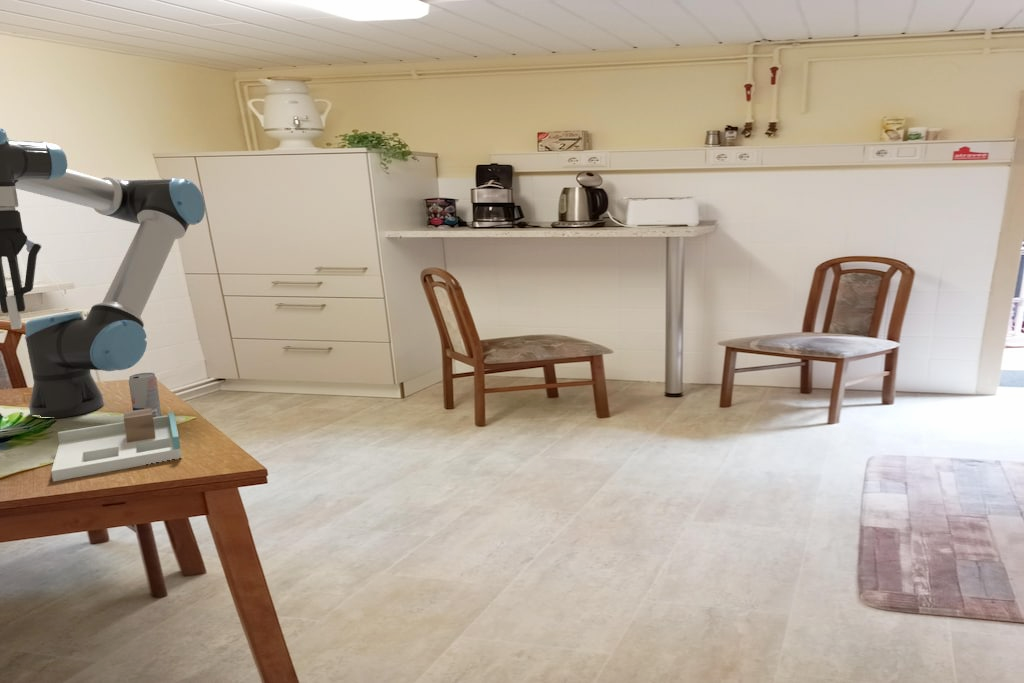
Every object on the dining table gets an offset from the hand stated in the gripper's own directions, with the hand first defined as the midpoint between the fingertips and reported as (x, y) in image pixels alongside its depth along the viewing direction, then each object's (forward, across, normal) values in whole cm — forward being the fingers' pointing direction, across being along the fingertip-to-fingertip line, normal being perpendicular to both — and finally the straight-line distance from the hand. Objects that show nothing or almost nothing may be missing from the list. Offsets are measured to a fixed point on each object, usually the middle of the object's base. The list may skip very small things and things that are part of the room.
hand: (16, 327), depth 140 cm
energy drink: (+25, +21, -3) cm, 32 cm away
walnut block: (+22, +20, -15) cm, 33 cm away
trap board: (+24, +16, -18) cm, 34 cm away
